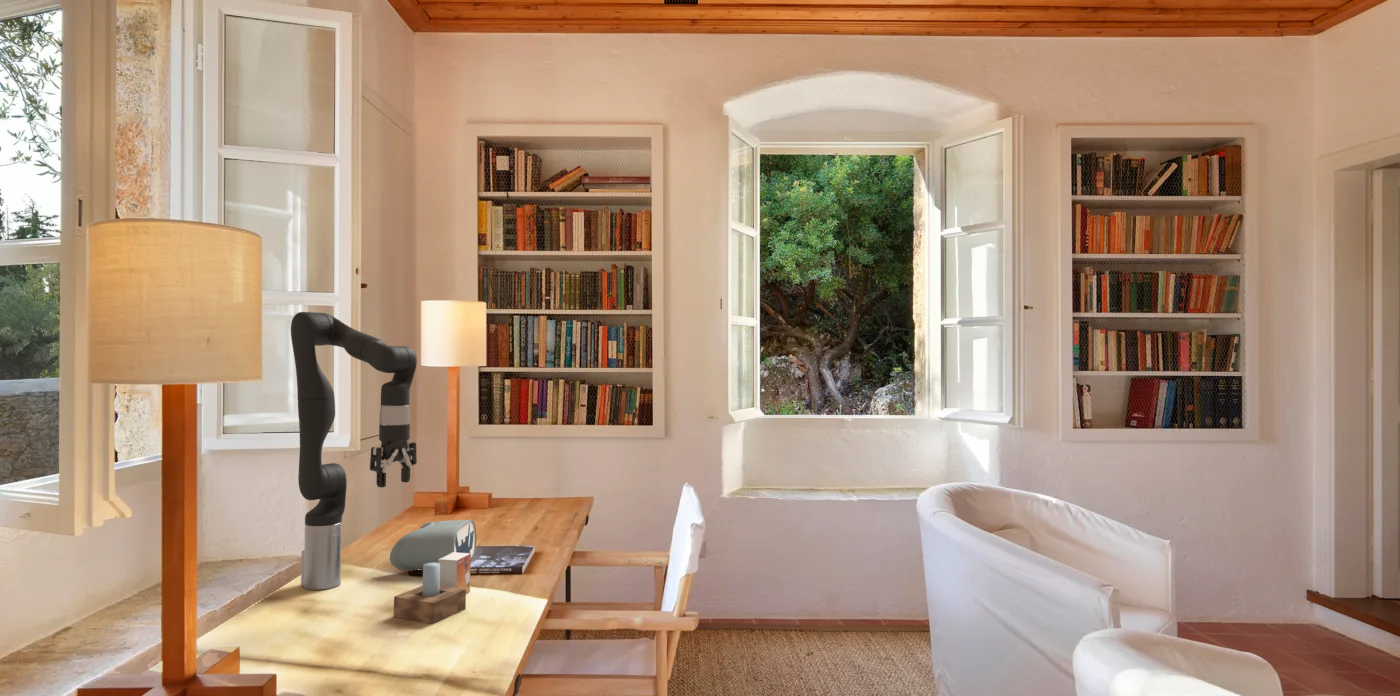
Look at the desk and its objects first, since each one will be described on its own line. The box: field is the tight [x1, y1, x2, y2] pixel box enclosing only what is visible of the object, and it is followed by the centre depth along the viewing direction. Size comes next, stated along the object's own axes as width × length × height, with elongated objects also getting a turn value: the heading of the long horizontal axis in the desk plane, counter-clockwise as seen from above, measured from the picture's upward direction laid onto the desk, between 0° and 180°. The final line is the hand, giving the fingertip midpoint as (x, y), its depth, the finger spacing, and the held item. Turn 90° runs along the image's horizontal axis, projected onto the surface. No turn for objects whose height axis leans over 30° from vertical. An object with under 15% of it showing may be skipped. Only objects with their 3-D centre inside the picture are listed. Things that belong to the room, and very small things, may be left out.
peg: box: [422, 563, 440, 597], centre depth 199 cm, size 4×4×12 cm
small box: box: [438, 552, 472, 595], centre depth 213 cm, size 8×6×10 cm
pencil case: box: [389, 519, 477, 572], centre depth 242 cm, size 22×19×13 cm
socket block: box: [393, 585, 467, 625], centre depth 199 cm, size 12×12×5 cm
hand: (393, 484), depth 208 cm, fingers open, 8 cm apart
